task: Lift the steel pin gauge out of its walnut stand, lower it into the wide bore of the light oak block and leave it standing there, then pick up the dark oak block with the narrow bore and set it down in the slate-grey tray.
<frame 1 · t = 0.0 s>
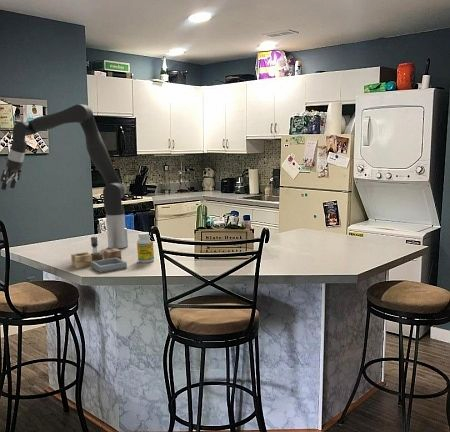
hand: (7, 188, 261), 31 cm above the countertop, tool tilted 20°, fingers open, 8 cm apart
tray: (109, 267, 218), on the countertop
block b: (112, 260, 230), on the countertop
block a: (82, 265, 223), on the countertop
pin stand: (95, 260, 232), on the countertop
pin gauge: (94, 249, 231), in the pin stand
supplement bottle: (146, 261, 228), on the countertop
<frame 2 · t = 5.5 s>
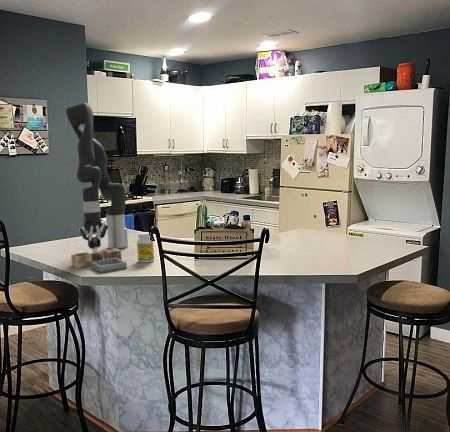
hand: (94, 247, 231), 6 cm above the countertop, tool pointing down, fingers closed on pin gauge, 2 cm apart
pin gauge: (94, 249, 231), in the pin stand, touching gripper
everything else where it was.
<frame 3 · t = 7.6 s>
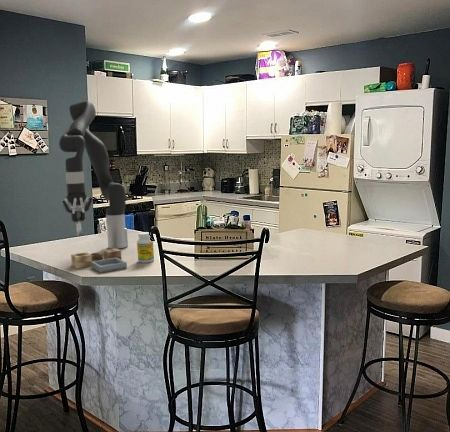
hand: (78, 221, 220), 20 cm above the countertop, tool pointing down, fingers closed on pin gauge, 2 cm apart
pin gauge: (78, 223, 220), point 19 cm above the countertop, touching gripper
everything else where it was.
when the fingers open (7 cm above the countertop, at t = 9.7 s): pin gauge stays where it is, resting in block a.
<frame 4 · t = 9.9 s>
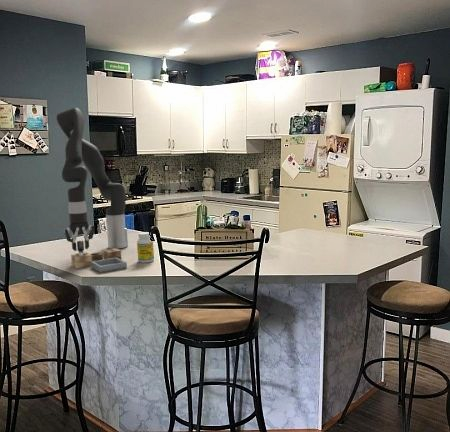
hand: (80, 249, 222), 7 cm above the countertop, tool pointing down, fingers open, 4 cm apart
pin gauge: (81, 253, 222), in the block a
everything else where it was.
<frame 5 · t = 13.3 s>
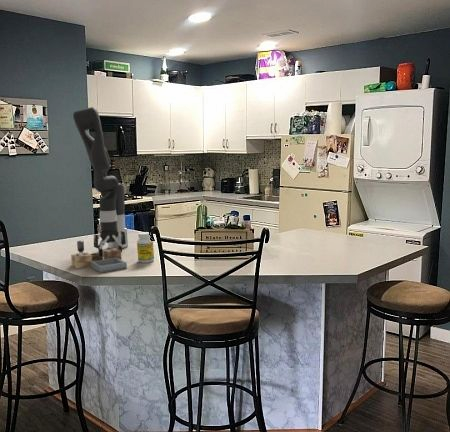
hand: (110, 255, 229), 3 cm above the countertop, tool pointing down, fingers open, 8 cm apart
nothing on the countertop moved.
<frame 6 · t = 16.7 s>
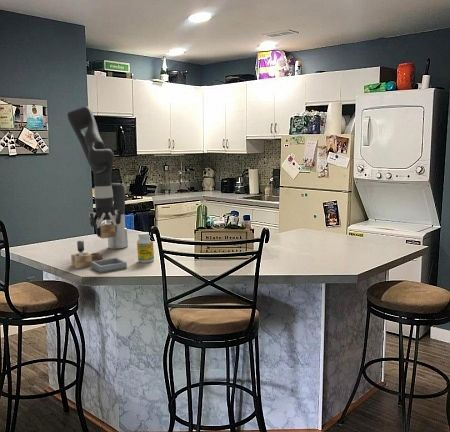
hand: (106, 235, 215), 15 cm above the countertop, tool pointing down, fingers closed on block b, 6 cm apart
block b: (106, 236, 215), point 14 cm above the countertop, touching gripper
everything else where it was.
when the fingers open (3 cm above the countertop, at t = 19.2 s): block b drops 2 cm, resting on tray.
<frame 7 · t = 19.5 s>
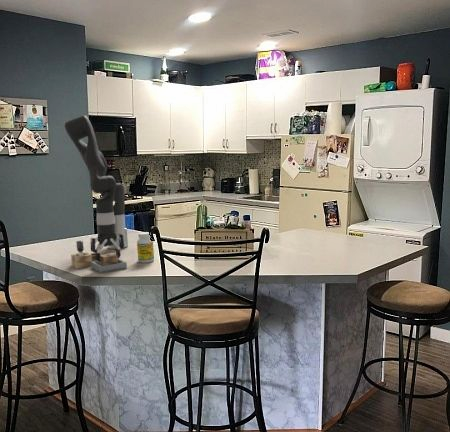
hand: (108, 259, 217), 4 cm above the countertop, tool pointing down, fingers open, 8 cm apart
block b: (109, 266, 218), point 1 cm above the countertop, touching tray
everything else where it was.
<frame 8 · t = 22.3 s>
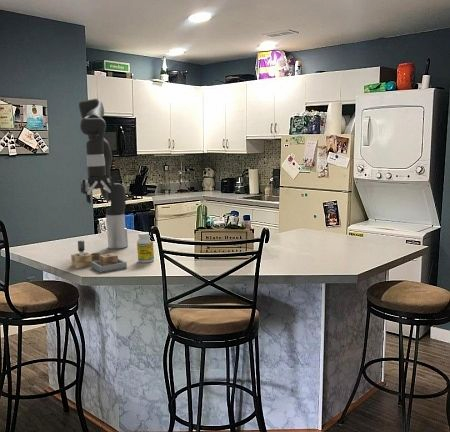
hand: (98, 202, 219), 28 cm above the countertop, tool pointing down, fingers open, 8 cm apart
nothing on the countertop moved.
at the end: pin gauge 0.1 cm off-centre on the block a, point 5.5 cm above the block a's base; block b inside the target area on the tray (0.1 cm from its centre), point 0.6 cm above the tray's base; block b tilted 0° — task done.
